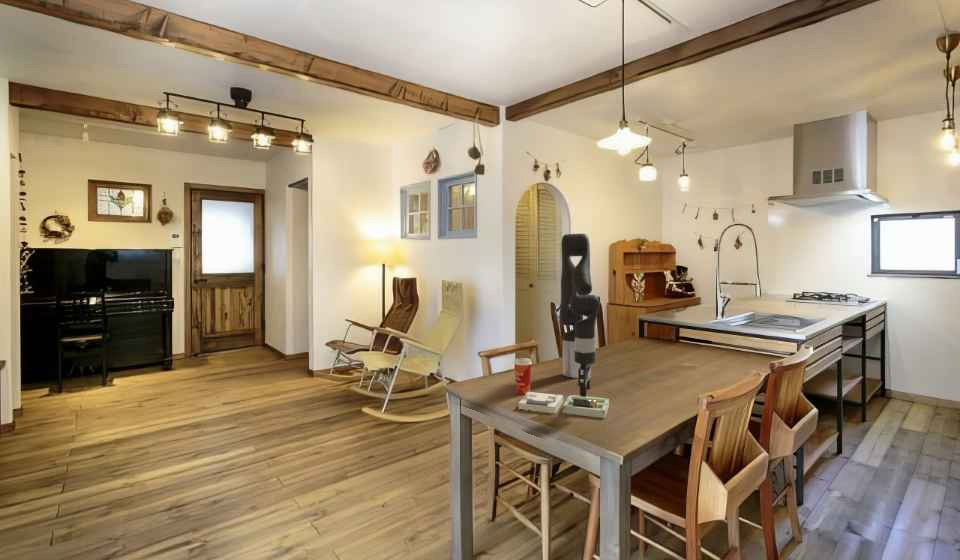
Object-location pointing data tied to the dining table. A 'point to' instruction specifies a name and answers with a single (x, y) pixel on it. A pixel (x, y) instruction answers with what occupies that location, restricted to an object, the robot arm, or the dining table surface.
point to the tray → (584, 411)
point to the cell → (585, 403)
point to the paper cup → (523, 375)
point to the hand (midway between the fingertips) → (585, 392)
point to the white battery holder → (541, 402)
